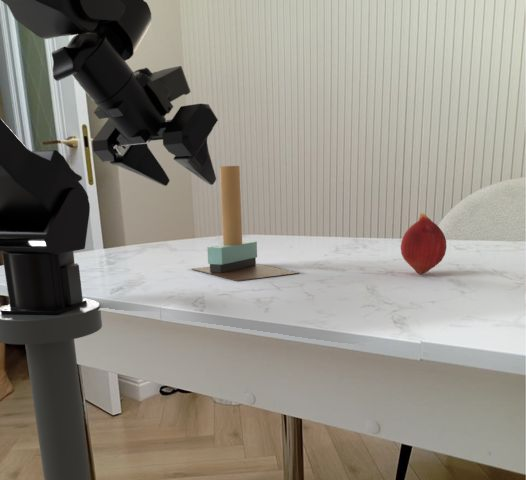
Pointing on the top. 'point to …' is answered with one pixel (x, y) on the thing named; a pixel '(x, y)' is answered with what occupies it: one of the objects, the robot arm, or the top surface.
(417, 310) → the top surface
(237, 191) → the wiper
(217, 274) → the brown flat rectangular panel
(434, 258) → the onion
